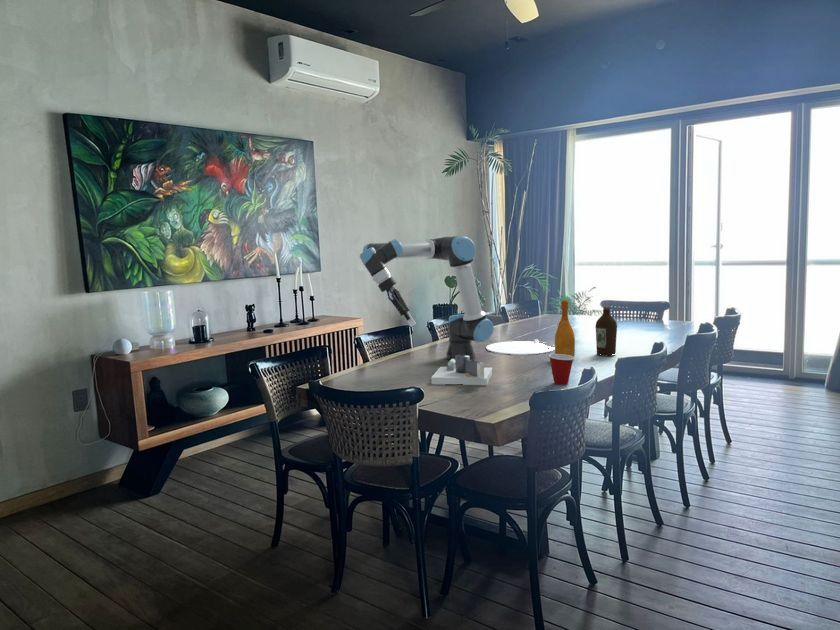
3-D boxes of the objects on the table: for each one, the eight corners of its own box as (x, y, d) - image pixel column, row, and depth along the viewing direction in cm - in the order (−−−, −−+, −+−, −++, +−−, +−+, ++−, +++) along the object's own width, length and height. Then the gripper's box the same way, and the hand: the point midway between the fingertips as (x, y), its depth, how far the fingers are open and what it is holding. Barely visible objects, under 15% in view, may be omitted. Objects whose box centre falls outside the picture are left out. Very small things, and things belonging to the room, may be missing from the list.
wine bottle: (566, 356, 315) (566, 298, 312) (578, 360, 307) (579, 300, 303) (550, 359, 311) (550, 300, 307) (563, 362, 302) (563, 301, 299)
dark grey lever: (453, 370, 275) (452, 355, 274) (466, 369, 278) (465, 353, 277) (475, 380, 256) (474, 363, 255) (488, 378, 258) (488, 362, 257)
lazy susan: (510, 340, 371) (510, 335, 370) (570, 346, 346) (570, 340, 345) (472, 351, 340) (472, 345, 340) (535, 358, 315) (535, 352, 315)
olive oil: (606, 352, 325) (606, 305, 322) (621, 355, 316) (621, 306, 313) (591, 354, 320) (591, 306, 317) (606, 357, 311) (606, 308, 308)
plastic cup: (575, 386, 254) (576, 358, 252) (549, 386, 255) (549, 357, 254) (573, 380, 264) (573, 353, 263) (548, 380, 266) (548, 353, 265)
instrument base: (440, 373, 286) (440, 358, 285) (492, 374, 281) (491, 359, 280) (431, 384, 265) (431, 368, 264) (486, 385, 260) (486, 369, 259)
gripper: (381, 283, 276) (409, 326, 277) (373, 286, 263) (403, 332, 265) (394, 274, 274) (423, 318, 276) (388, 277, 262) (417, 324, 263)
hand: (413, 325), depth 270 cm, fingers closed
